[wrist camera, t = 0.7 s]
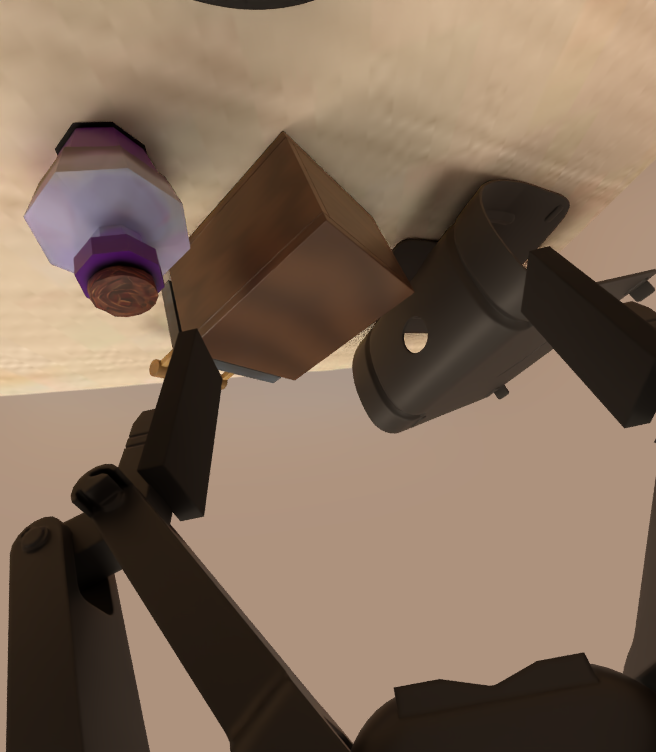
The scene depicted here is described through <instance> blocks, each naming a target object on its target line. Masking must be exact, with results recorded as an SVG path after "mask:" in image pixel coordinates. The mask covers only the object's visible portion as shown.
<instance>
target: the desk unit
mask: <svg viewBox="0 0 656 752" xmlns="http://www.w3.org/2000/svg"><path fill="white" fill-rule="evenodd" d="M189 243H190V249H189V250H188V251H187V252H186V253H185V254H184V255H183V256H182V257H181V258H180V259H179V260H178V261H177V262H176V263H175V264H174V265H173V266H172V267H171V268H170V269H169V272H170V276H171V281H172V286H173V291H174V295H175V300H176V305H177V310H178V315H179V319H180V324H181V329H182V332H183V331H187V330H191V329H195V328H197V329H198V331H199V333H200V335H201V337H202V339H203V341H204V343H205V345H206V347H207V349H208V351H209V353H210V355H211V357H212V358H213V359H216V360H220V361H224V362H228V363H231V364H235V365H239V366H243V367H246V368H250V369H254V370H258V371H261V372H265V373H269V374H272V375H276V376H280V377H284V378H288V379H292V380H296V379H297V378H299V377H300V376H302V375H303V374H304V373H306V372H307V371H308V370H310V369H311V368H313V367H314V366H315V365H317V364H318V363H319V362H321V361H322V360H323V359H325V358H326V357H327V356H329V355H330V354H332V353H333V352H334V351H336V350H337V349H338V348H340V347H341V346H342V345H344V344H345V343H347V342H348V341H349V340H351V339H352V338H353V337H355V336H356V335H357V334H359V333H360V332H362V331H363V330H364V329H366V328H367V327H368V326H370V325H371V324H372V323H374V322H375V321H376V320H378V319H379V318H381V317H382V316H383V315H385V314H386V313H387V312H389V311H390V310H391V309H393V308H394V307H396V306H397V305H398V304H400V303H401V302H402V301H404V300H405V299H406V298H408V297H409V296H411V295H412V294H413V293H414V292H415V291H414V289H413V288H412V286H411V284H410V282H409V281H408V279H407V277H406V275H405V274H404V272H403V270H402V268H401V266H400V265H399V263H398V261H397V259H396V258H395V256H394V254H393V252H392V251H391V249H390V247H389V245H388V244H387V242H386V240H385V238H384V237H383V235H382V233H381V231H380V229H379V228H378V226H377V224H376V223H375V221H374V219H373V217H371V216H370V215H369V214H368V213H367V212H366V211H365V210H364V209H363V208H362V207H361V206H360V205H359V204H358V203H357V202H356V201H355V200H354V199H353V198H352V197H351V196H350V195H349V194H348V193H347V192H346V191H345V190H344V189H343V188H342V187H341V186H340V185H338V184H337V183H336V182H335V181H334V180H333V179H332V178H331V177H330V176H329V175H328V174H327V173H326V172H325V171H324V170H323V169H322V168H321V167H320V166H319V165H318V164H317V163H316V162H315V161H314V160H313V159H312V158H311V157H310V156H309V155H308V154H306V153H305V152H304V151H303V150H302V149H301V148H300V147H299V146H298V145H297V144H296V143H295V142H294V141H293V140H292V139H291V138H290V137H289V136H288V135H287V134H286V133H285V132H282V133H281V134H280V135H279V136H278V137H277V138H276V139H275V141H274V142H273V143H272V144H271V145H270V146H269V147H268V149H267V150H266V151H265V152H264V153H263V154H262V155H261V157H260V158H259V159H258V160H257V161H256V162H255V163H254V165H253V166H252V167H251V168H250V169H249V170H248V171H247V172H246V174H245V175H244V176H243V177H242V178H241V179H240V180H239V182H238V183H237V184H236V185H235V186H234V187H233V188H232V190H231V191H230V192H229V193H228V194H227V195H226V196H225V198H224V199H223V200H222V201H221V202H220V203H219V204H218V206H217V207H216V208H215V209H214V210H213V211H212V212H211V214H210V215H209V216H208V217H207V218H206V219H205V220H204V222H203V223H202V224H201V225H200V226H199V227H198V228H197V230H196V231H195V232H194V233H193V234H192V235H191V236H190V238H189Z"/></svg>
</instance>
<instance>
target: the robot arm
mask: <svg viewBox="0 0 656 752" xmlns="http://www.w3.org/2000/svg"><path fill="white" fill-rule="evenodd" d="M521 313H522V314H523V315H524V316H525V317H526V318H527V319H528V321H529V322H530V323H531V324H532V325H533V326H534V327H535V328H536V330H537V331H538V332H539V333H540V334H541V335H542V336H543V337H544V339H545V340H546V341H547V342H548V343H549V344H550V345H551V346H552V348H553V349H554V350H555V351H556V352H557V353H558V354H559V355H560V356H561V358H562V359H563V360H564V361H565V362H566V363H567V364H568V365H569V367H570V368H571V369H572V370H573V371H574V372H575V373H576V374H577V376H578V377H579V378H580V379H581V380H582V381H583V382H584V383H585V385H586V386H587V387H588V388H589V389H590V390H591V391H592V392H593V394H594V395H595V396H596V397H597V398H598V399H599V400H600V401H601V402H602V404H603V405H604V406H605V407H606V408H607V409H608V410H609V411H610V413H611V414H612V415H613V416H614V417H615V418H616V419H617V420H618V422H619V423H620V424H621V425H622V426H623V427H624V428H628V427H633V426H638V425H642V424H647V423H650V422H651V420H652V418H653V416H654V414H655V412H656V312H655V311H653V310H652V309H650V308H649V307H646V306H643V305H641V304H638V303H636V302H633V301H631V302H626V303H622V302H621V301H619V300H618V299H617V298H616V297H614V296H613V295H612V294H610V293H609V292H608V291H607V290H605V289H604V288H603V287H601V286H600V285H599V284H597V283H596V282H595V281H594V280H592V279H591V278H590V277H588V276H587V275H586V274H584V273H583V272H582V271H581V270H579V269H578V268H577V267H575V266H574V265H573V264H572V263H570V262H569V261H568V260H566V259H565V258H564V257H563V256H561V255H560V254H559V253H557V252H556V251H555V250H554V249H552V248H551V247H550V246H549V247H544V248H540V249H536V250H532V251H529V256H528V263H527V271H526V278H525V285H524V292H523V299H522V306H521ZM221 387H222V377H221V375H220V373H219V371H218V369H217V367H216V365H215V363H214V361H213V359H212V357H211V355H210V353H209V351H208V349H207V347H206V345H205V343H204V341H203V339H202V337H201V335H200V333H199V331H198V329H197V328H195V329H191V330H187V331H183V332H178V336H177V339H176V342H175V346H174V349H173V352H172V355H171V359H170V362H169V365H168V369H167V372H166V375H165V379H164V382H163V385H162V389H161V392H160V395H159V398H158V402H157V405H156V408H155V409H152V410H148V411H143V412H142V413H141V414H140V416H139V417H138V418H137V420H136V421H135V422H134V423H133V426H132V429H131V432H130V435H129V439H128V440H127V443H126V449H124V452H123V455H122V458H121V460H120V463H119V467H116V466H115V465H113V464H104V465H101V466H97V467H95V468H93V469H92V470H90V471H88V472H87V473H86V474H84V475H83V476H82V477H81V478H80V479H79V480H78V482H77V483H76V484H75V486H74V487H73V490H72V493H71V500H72V503H73V504H75V505H76V506H77V507H78V508H79V509H80V510H82V511H83V512H84V513H82V514H80V515H78V516H76V517H74V518H72V519H70V520H68V521H66V522H64V523H63V522H61V521H60V520H59V519H57V518H55V517H44V518H41V519H39V520H37V521H35V522H33V523H32V524H31V525H29V526H28V527H26V528H25V529H24V530H23V531H22V532H21V533H20V534H19V535H18V537H17V539H16V540H15V542H14V543H13V545H12V548H11V552H10V581H9V582H10V583H9V630H8V680H7V729H6V730H7V731H6V752H150V750H149V745H148V740H147V735H146V730H145V725H144V720H143V715H142V710H141V705H140V700H139V695H138V690H137V685H136V680H135V675H134V670H133V665H132V660H131V655H130V650H129V645H128V640H127V635H126V630H125V625H124V620H123V615H122V610H121V605H120V600H119V595H118V590H117V584H116V580H115V575H114V573H116V572H118V571H120V570H122V569H123V571H124V572H125V574H126V575H127V577H128V579H129V580H130V582H131V584H132V585H133V587H134V588H135V590H136V591H137V593H138V595H139V596H140V598H141V599H142V601H143V602H144V604H145V606H146V607H147V609H148V610H149V612H150V614H151V615H152V617H153V618H154V620H155V621H156V623H157V625H158V626H159V628H160V630H161V631H162V632H163V634H164V636H165V638H166V639H167V641H168V642H169V644H170V645H171V647H172V649H173V650H174V652H175V653H176V655H177V657H178V658H179V660H180V661H181V663H182V665H183V666H184V668H185V669H186V671H187V673H188V674H189V676H190V677H191V679H192V680H193V682H194V684H195V685H196V687H197V688H198V690H199V692H200V693H201V695H202V696H203V698H204V700H205V701H206V703H207V704H208V706H209V707H210V709H211V711H212V712H213V714H214V715H215V717H216V718H217V720H218V722H219V723H220V725H221V727H222V728H223V729H224V731H225V733H226V735H227V737H228V739H229V741H230V751H231V752H656V480H655V487H654V494H653V502H652V510H651V517H650V525H649V531H648V539H647V546H646V553H645V561H644V569H643V576H642V583H641V590H640V598H639V606H638V613H637V620H636V628H635V634H634V639H633V643H632V646H631V648H630V651H629V653H628V656H627V659H626V662H625V666H624V671H623V673H620V672H617V671H615V670H612V669H609V668H606V667H602V666H598V665H595V664H590V663H589V661H588V659H587V657H586V655H585V653H579V654H573V655H567V656H562V657H557V658H552V659H546V660H541V661H536V662H535V663H533V664H531V665H529V666H528V667H526V668H524V669H522V670H521V671H519V672H517V673H515V674H514V675H512V676H510V677H509V678H507V679H505V680H503V681H502V682H500V683H498V684H496V685H492V686H487V685H480V684H471V683H464V682H457V681H449V680H442V679H438V680H432V681H427V682H422V683H416V684H411V685H406V686H400V687H394V692H395V698H393V699H391V700H390V701H388V702H386V703H385V704H384V705H383V706H381V707H380V708H379V709H378V710H376V712H375V713H374V714H373V715H372V716H371V717H370V718H369V719H368V721H367V722H366V723H365V725H364V726H363V728H362V729H361V730H360V732H359V734H358V736H357V738H356V740H355V742H354V744H353V743H352V742H351V741H350V739H349V738H348V737H347V736H346V734H345V733H344V732H343V731H342V730H341V728H340V727H339V726H338V725H337V724H336V722H335V721H334V720H333V719H332V718H331V717H330V716H329V714H328V713H327V712H326V711H325V710H324V709H323V707H322V706H321V705H320V704H319V703H318V702H317V700H316V699H315V698H314V697H313V696H312V695H311V693H310V692H309V691H308V690H307V689H306V687H305V686H304V685H303V684H302V683H301V681H300V680H299V679H298V678H297V677H296V675H295V674H294V673H293V672H292V671H291V669H290V668H289V667H288V666H287V664H286V663H285V662H284V661H283V660H282V658H281V657H280V656H279V655H278V654H277V652H276V651H275V650H274V649H273V648H272V646H271V645H270V644H269V643H268V641H267V640H266V639H265V638H264V637H263V635H262V634H261V633H260V632H259V631H258V629H257V628H256V627H255V626H254V625H253V623H252V622H251V621H250V620H249V619H248V617H247V616H246V615H245V614H244V613H243V611H242V610H241V609H240V608H239V606H238V605H237V604H236V603H235V602H234V600H233V599H232V598H231V597H230V596H229V594H228V593H227V592H226V591H225V590H224V588H223V587H222V586H221V585H220V584H219V582H218V581H217V580H216V579H215V577H214V576H213V575H212V574H211V573H210V571H209V570H208V569H207V568H206V567H205V565H204V564H203V563H202V562H201V561H200V559H199V558H198V557H197V556H196V555H195V553H194V552H193V551H192V550H191V548H190V547H189V546H188V545H187V544H186V542H185V541H184V540H183V539H182V538H181V536H180V535H179V534H178V533H177V532H176V530H175V529H174V528H173V527H172V526H171V525H170V522H171V517H172V512H173V513H174V514H175V515H176V516H177V518H178V519H179V520H180V521H184V520H189V519H194V518H199V517H203V516H204V512H205V505H206V497H207V490H208V482H209V475H210V467H211V461H212V453H213V445H214V438H215V431H216V424H217V416H218V409H219V402H220V393H221ZM654 442H655V443H656V439H655V441H654Z"/></svg>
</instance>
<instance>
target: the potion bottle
mask: <svg viewBox="0 0 656 752" xmlns="http://www.w3.org/2000/svg"><path fill="white" fill-rule="evenodd" d="M55 151H56V153H57V155H58V156H57V159H56V160H55V161H54V163H53V164H52V166H51V167H50V169H49V170H48V171H47V173H46V174H45V176H44V177H43V178H42V180H41V181H40V182H39V184H38V187H37V189H36V191H35V193H34V195H33V197H32V200H31V202H30V204H29V206H28V208H27V210H26V213H25V215H24V218H25V220H26V222H27V224H28V225H29V227H30V229H31V231H32V232H33V234H34V236H35V238H36V239H37V241H38V243H39V244H40V246H41V248H42V250H43V251H44V253H45V255H46V257H47V258H48V260H49V262H50V263H51V264H52V265H55V266H57V267H60V268H62V269H65V270H67V271H70V272H72V273H74V274H75V277H76V279H77V281H78V283H79V284H80V286H81V288H82V290H83V292H84V294H85V296H86V297H87V298H89V299H90V300H91V301H92V302H93V304H94V305H95V307H96V308H99V309H101V310H104V311H106V312H108V313H110V314H112V315H114V316H117V317H129V316H135V315H140V314H142V313H144V312H146V311H148V310H150V309H151V308H152V307H153V306H154V305H155V304H156V301H157V298H158V296H159V295H158V293H159V292H160V291H161V290H162V289H163V288H164V287H165V286H164V280H163V275H164V274H165V273H166V272H167V271H168V270H169V269H170V268H171V267H172V266H173V265H174V264H175V263H176V262H177V261H178V260H179V259H180V258H181V257H182V256H183V255H184V254H185V253H186V252H187V251H188V250H189V249H190V243H189V238H188V232H187V226H186V221H185V215H184V209H183V204H182V202H181V201H180V199H179V198H178V196H177V195H176V193H175V192H174V190H173V188H172V187H171V185H170V184H169V182H168V181H167V179H166V178H165V177H164V176H162V175H161V174H160V173H158V171H157V170H156V168H155V167H154V165H153V164H152V162H151V160H150V159H149V157H148V156H147V153H146V148H145V145H143V144H142V143H141V142H139V141H138V140H136V139H135V138H134V137H132V136H131V135H130V134H128V133H127V132H126V131H124V130H123V129H121V128H120V127H119V126H117V125H116V124H115V123H113V122H86V123H73V124H72V125H71V126H70V128H69V129H68V131H67V132H66V134H65V135H64V137H63V138H62V140H61V141H60V142H59V144H58V145H57V147H56V148H55Z"/></svg>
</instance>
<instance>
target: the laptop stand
mask: <svg viewBox="0 0 656 752" xmlns="http://www.w3.org/2000/svg"><path fill="white" fill-rule="evenodd" d="M569 207H570V204H569V201H568V199H567V198H565V197H564V196H562V195H561V194H558V193H555V192H552V191H549V190H546V189H543V188H541V187H538V186H535V185H532V184H529V183H526V182H521V181H515V180H506V179H500V180H492V181H489V182H486V183H484V184H483V185H481V187H480V188H479V189H478V191H477V192H476V193H475V195H474V196H473V197H472V198H471V200H470V201H469V202H468V204H467V205H466V206H465V208H464V209H463V210H462V212H461V213H460V214H459V215H458V217H457V219H456V222H455V224H453V225H452V226H450V227H449V228H448V230H447V231H446V232H445V234H444V235H443V236H442V238H441V239H440V240H439V241H438V242H433V241H426V240H418V239H406V240H403V241H402V242H400V243H399V244H398V245H397V246H396V247H395V248H394V249H393V251H392V252H393V254H394V256H395V258H396V259H397V261H398V263H399V265H400V266H401V268H402V270H403V272H404V274H405V275H406V277H407V279H408V281H409V282H410V284H411V286H412V288H413V289H414V291H415V292H414V293H413V294H412V295H411V296H409V297H408V298H406V299H405V300H404V301H402V302H401V303H400V304H398V305H397V306H396V307H394V308H393V309H391V310H390V311H389V312H387V313H386V314H385V315H383V316H382V317H381V318H379V320H378V321H377V322H376V324H375V325H374V327H373V328H372V329H371V330H370V331H369V333H368V334H367V335H366V337H365V338H364V339H363V341H362V342H361V343H360V344H359V346H358V348H357V349H356V351H355V354H354V358H353V364H352V369H353V377H354V383H355V386H356V390H357V393H358V395H359V398H360V400H361V402H362V405H363V407H364V409H365V411H366V412H367V414H368V416H369V418H370V419H371V421H372V422H373V423H374V424H375V425H376V426H377V427H378V428H380V429H381V430H383V431H385V432H388V433H399V432H401V431H404V430H407V429H409V428H412V427H414V426H417V425H419V424H422V423H424V422H427V421H429V420H431V419H434V418H436V417H439V416H441V415H444V414H446V413H449V412H451V411H454V410H456V409H459V408H461V407H464V406H466V405H469V404H471V403H474V402H476V401H479V400H481V399H484V398H486V397H488V396H490V395H491V394H492V393H495V395H496V396H497V398H498V399H502V398H503V397H505V396H506V395H507V394H509V391H508V389H507V388H506V386H505V385H504V384H506V383H507V382H508V381H510V380H511V379H513V378H514V377H515V376H517V375H518V374H520V373H521V372H522V371H523V370H525V369H526V368H528V367H529V366H530V365H532V364H533V363H535V362H536V361H537V360H538V359H540V358H541V357H543V356H544V355H545V354H547V353H548V352H550V351H551V350H552V349H553V348H552V346H551V345H550V344H549V343H548V342H547V341H546V340H545V339H544V337H543V336H542V335H541V334H540V333H539V332H538V331H537V330H536V328H535V327H534V326H533V325H532V324H531V323H530V322H529V321H528V319H527V318H526V317H525V316H524V315H523V314H522V313H521V306H522V299H523V292H524V285H525V278H526V271H527V269H526V268H525V267H524V266H523V265H522V264H523V263H524V262H525V261H526V260H527V259H528V256H529V251H532V250H536V249H537V248H538V247H539V246H540V245H541V244H542V243H543V242H544V241H545V240H546V238H547V237H548V236H549V235H550V234H551V233H552V232H553V230H554V229H555V228H556V227H557V226H558V224H559V223H560V222H561V221H562V219H563V218H564V217H565V215H566V214H567V212H568V210H569ZM654 274H656V270H655V269H653V270H648V271H644V272H640V273H635V274H631V275H626V276H622V277H617V278H613V279H608V280H604V281H600V282H596V283H597V284H599V285H600V286H601V287H603V288H604V289H605V290H607V291H608V292H609V293H610V294H612V295H613V296H614V297H616V298H617V299H618V300H620V299H622V298H623V297H625V296H626V295H628V294H630V295H631V296H632V297H633V298H634V299H635V301H637V302H639V301H642V300H643V299H645V298H646V297H647V296H649V295H650V294H652V293H653V292H654V291H655V288H654V287H653V286H652V285H651V284H650V283H649V282H648V281H647V280H648V279H649V278H651V277H652V276H653V275H654ZM404 333H428V339H427V343H426V345H425V347H424V348H423V349H422V350H421V351H420V352H418V353H412V352H410V351H409V350H408V349H407V347H406V345H405V342H404Z"/></svg>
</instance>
